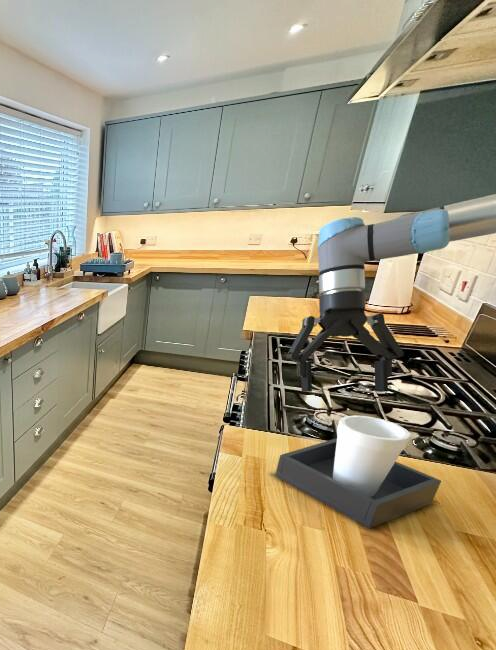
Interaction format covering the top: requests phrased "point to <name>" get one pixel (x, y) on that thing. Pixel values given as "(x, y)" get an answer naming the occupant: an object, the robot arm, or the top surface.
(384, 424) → the foam cup
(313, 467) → the tray
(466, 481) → the top surface
